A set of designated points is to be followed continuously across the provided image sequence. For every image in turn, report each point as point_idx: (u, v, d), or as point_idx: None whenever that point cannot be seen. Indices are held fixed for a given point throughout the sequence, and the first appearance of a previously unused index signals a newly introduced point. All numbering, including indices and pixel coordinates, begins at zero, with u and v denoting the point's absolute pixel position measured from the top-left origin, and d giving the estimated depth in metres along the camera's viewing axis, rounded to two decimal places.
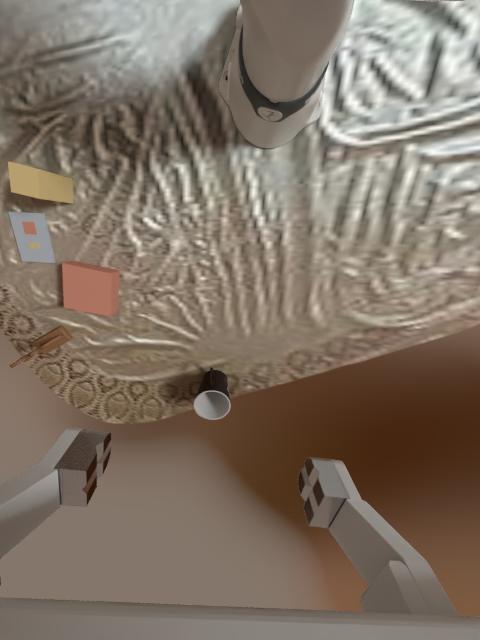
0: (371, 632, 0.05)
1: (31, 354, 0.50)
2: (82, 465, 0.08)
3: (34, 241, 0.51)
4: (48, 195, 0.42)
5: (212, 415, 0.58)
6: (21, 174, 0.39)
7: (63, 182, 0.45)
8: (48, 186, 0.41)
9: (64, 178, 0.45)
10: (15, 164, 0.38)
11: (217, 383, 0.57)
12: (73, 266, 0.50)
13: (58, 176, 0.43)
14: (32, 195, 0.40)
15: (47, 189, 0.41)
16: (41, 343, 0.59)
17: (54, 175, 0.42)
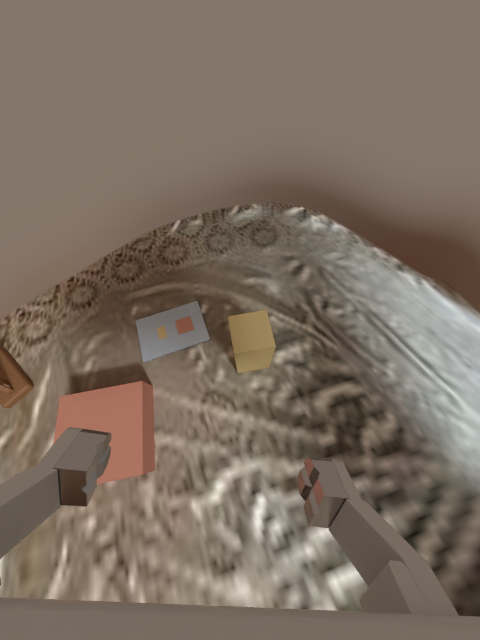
0: (371, 632, 0.05)
1: None
2: (82, 465, 0.08)
3: (167, 332, 0.36)
4: (241, 358, 0.27)
5: None
6: (257, 326, 0.26)
7: (262, 363, 0.31)
8: (253, 356, 0.27)
9: (268, 363, 0.31)
10: (267, 318, 0.27)
11: None
12: (140, 399, 0.29)
13: (269, 359, 0.30)
14: (234, 343, 0.26)
15: (249, 356, 0.27)
16: None
17: (270, 357, 0.29)
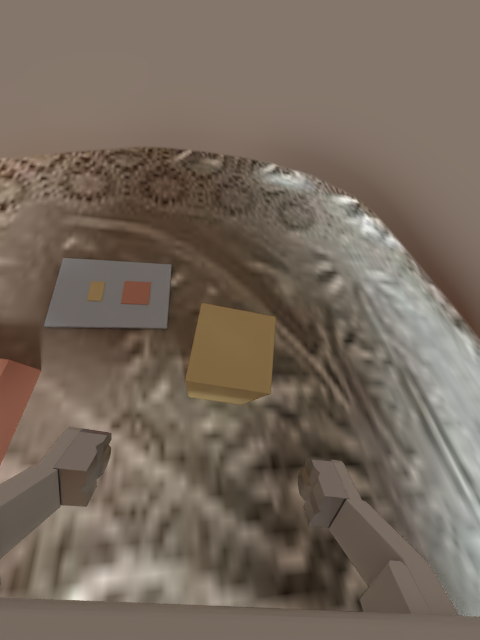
0: (371, 632, 0.05)
1: None
2: (82, 465, 0.08)
3: (104, 294, 0.22)
4: (199, 388, 0.14)
5: None
6: (248, 341, 0.13)
7: (233, 400, 0.18)
8: (222, 391, 0.14)
9: (242, 401, 0.18)
10: (271, 333, 0.14)
11: None
12: None
13: (247, 400, 0.17)
14: (194, 359, 0.12)
15: (215, 390, 0.14)
16: None
17: (249, 399, 0.16)
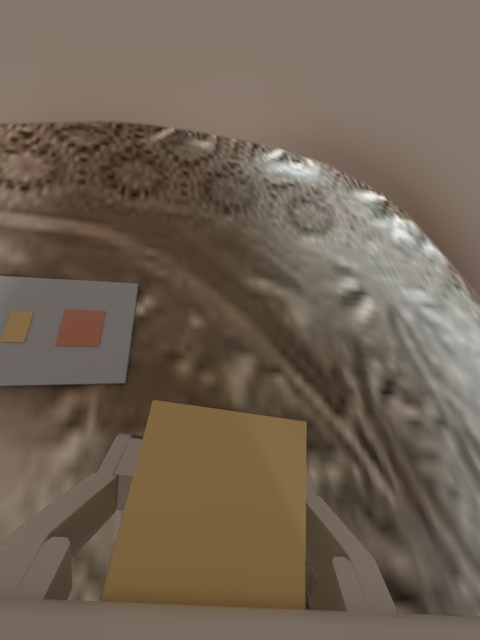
0: (371, 632, 0.05)
1: None
2: None
3: (31, 331, 0.15)
4: None
5: None
6: (253, 492, 0.06)
7: None
8: None
9: None
10: (299, 464, 0.07)
11: None
12: None
13: None
14: (123, 562, 0.05)
15: None
16: None
17: None
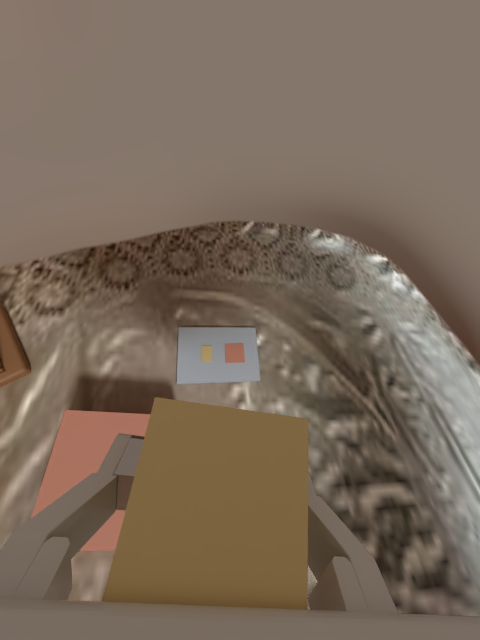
0: (371, 631, 0.05)
1: None
2: None
3: (213, 356, 0.29)
4: None
5: None
6: (254, 489, 0.06)
7: None
8: None
9: None
10: (301, 461, 0.07)
11: None
12: None
13: None
14: (125, 558, 0.05)
15: None
16: None
17: None
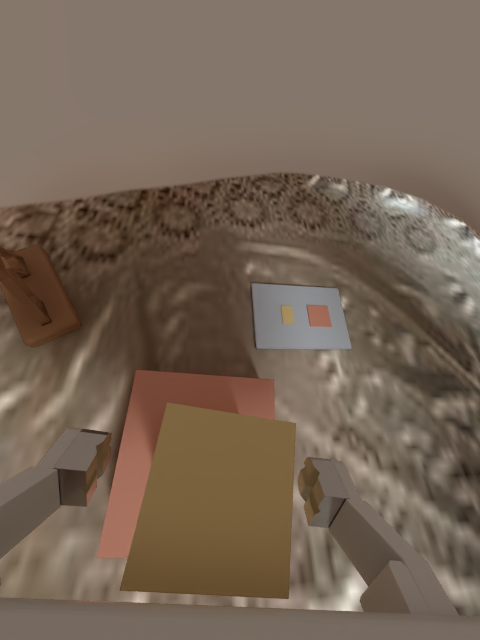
0: (371, 631, 0.05)
1: None
2: (82, 465, 0.08)
3: (294, 318, 0.24)
4: None
5: None
6: (249, 480, 0.07)
7: None
8: None
9: None
10: (288, 458, 0.08)
11: None
12: (271, 410, 0.17)
13: None
14: (143, 534, 0.06)
15: None
16: (30, 263, 0.20)
17: None
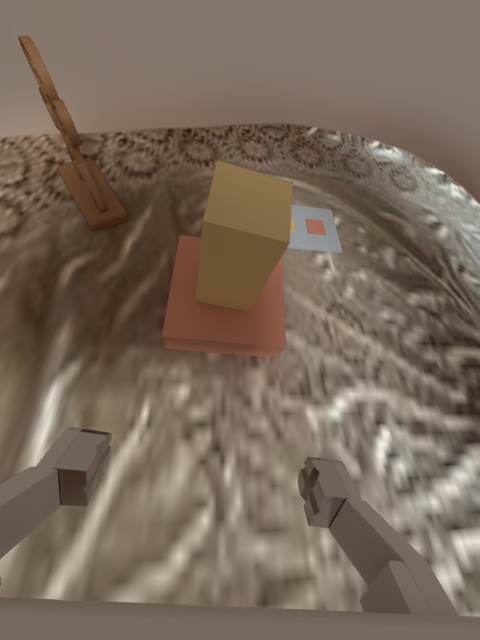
0: (371, 632, 0.05)
1: (59, 102, 0.16)
2: (82, 465, 0.08)
3: (296, 227, 0.30)
4: (213, 251, 0.14)
5: None
6: (266, 198, 0.13)
7: (242, 294, 0.18)
8: (237, 258, 0.14)
9: (251, 298, 0.18)
10: (288, 195, 0.13)
11: None
12: (280, 269, 0.23)
13: (258, 288, 0.17)
14: (211, 205, 0.12)
15: (229, 254, 0.14)
16: None
17: (262, 280, 0.16)
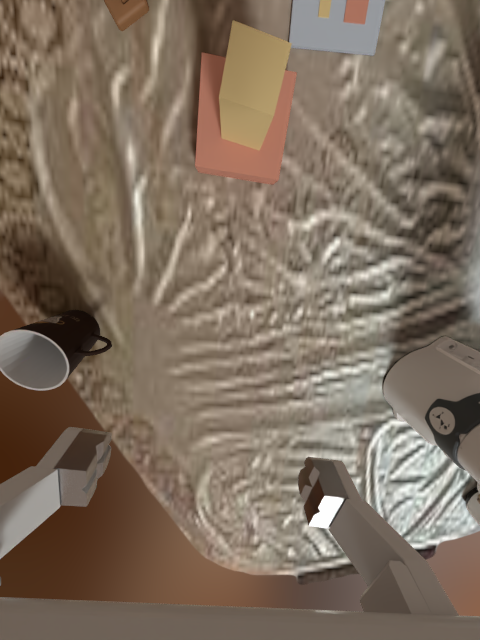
0: (371, 632, 0.05)
1: None
2: (82, 465, 0.08)
3: (331, 9, 0.26)
4: (228, 112, 0.21)
5: (5, 357, 0.30)
6: (265, 68, 0.18)
7: (253, 139, 0.25)
8: (243, 118, 0.21)
9: (259, 142, 0.25)
10: (284, 61, 0.18)
11: (80, 355, 0.33)
12: (290, 98, 0.26)
13: (262, 137, 0.24)
14: (225, 80, 0.18)
15: (238, 115, 0.21)
16: None
17: (263, 133, 0.23)
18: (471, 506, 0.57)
